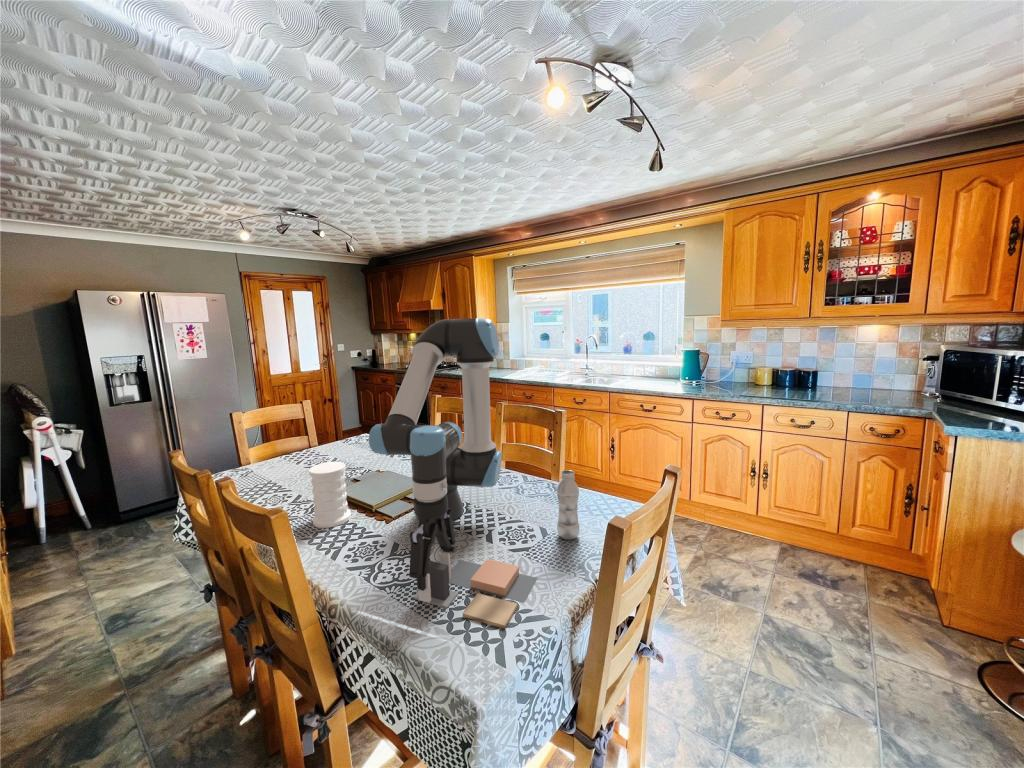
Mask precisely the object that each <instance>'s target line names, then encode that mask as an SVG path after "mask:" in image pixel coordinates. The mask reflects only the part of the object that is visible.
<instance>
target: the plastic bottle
mask: <svg viewBox="0 0 1024 768" xmlns="http://www.w3.org/2000/svg"><path fill="white" fill-rule="evenodd" d="M560 478H561V481H560V482H558V484H557V487H556V495H557V501H558V503H557V505H558V515H557V516H558V518H557V519H558V520H557V523H556V530H557V535H558V536H559V537H560V538H561V539H563V540H568V541H569V540H570V541H571V540H575V539H577V538H578V536H579V535H580V523H579V517H578V516H579V515H578V504H579V503H578V502H579V497H580V496H579V495H580V488H579V486H578V485H577V483H576V481H575V471H573V470H570V469H569V470H568V469H565V470H563V471H561V475H560Z"/></svg>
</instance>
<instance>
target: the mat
mask: <svg viewBox="0 0 1024 768" xmlns="http://www.w3.org/2000/svg"><path fill="white" fill-rule="evenodd" d="M481 566H482V564H480V563H476V562H472V561H471V562H470V561H467V560H462V559H459V560H458V562H457V563H456V564H455V565H454V566H453V567H451V579H450V580H449V585H455V586H458V587H463V588H466V589H471V590H474V591H478V592H482V593H486V594H489V595H493V596H497V597H501V598H505V599H508V600H511V601H512V600H513V601H516V602H520V603H526V601H527V599H528V597H529V595H530V593H531V592H532V589H533V588H534V587H535V586H534V585H535V584H536V582H537V580H538V579H539V577H536V576H531V575H526V574H523V573H519V575H518V576H517V578H516V579H515V581H514V583H513V584H512V586H511V587H510V589H509V591H508V592H507V594H506V595H505V596H503V595H499V594H496V593H492V592H488V591H484V590H480V589H476V588H472V587H471V582H470V579H471V578H472V577H473V576H474V574H475V573H476V572H477V571H478V569H479V568H480V567H481Z"/></svg>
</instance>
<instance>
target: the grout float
mask: <svg viewBox="0 0 1024 768" xmlns="http://www.w3.org/2000/svg"><path fill="white" fill-rule="evenodd" d="M427 573H428V574H430V589H431V601H430V603H428V602H425V601H423V603H424V602H425V603H426V604H432V605H434V606H438V607H442V608H445V609H448V608H449V607H450V606H451V605H452V603H453V602H454V601H455V599H456V598H457V597H458V595H459V592H458V591H454V590H450V583H449V569H448V565H445V564H441V563H439V562H436V561H433V560H429V565H428V571H427ZM413 599H414V600H418V601H421V600H419V592H417V593H415V595H414V596H413ZM421 602H422V601H421Z"/></svg>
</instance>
